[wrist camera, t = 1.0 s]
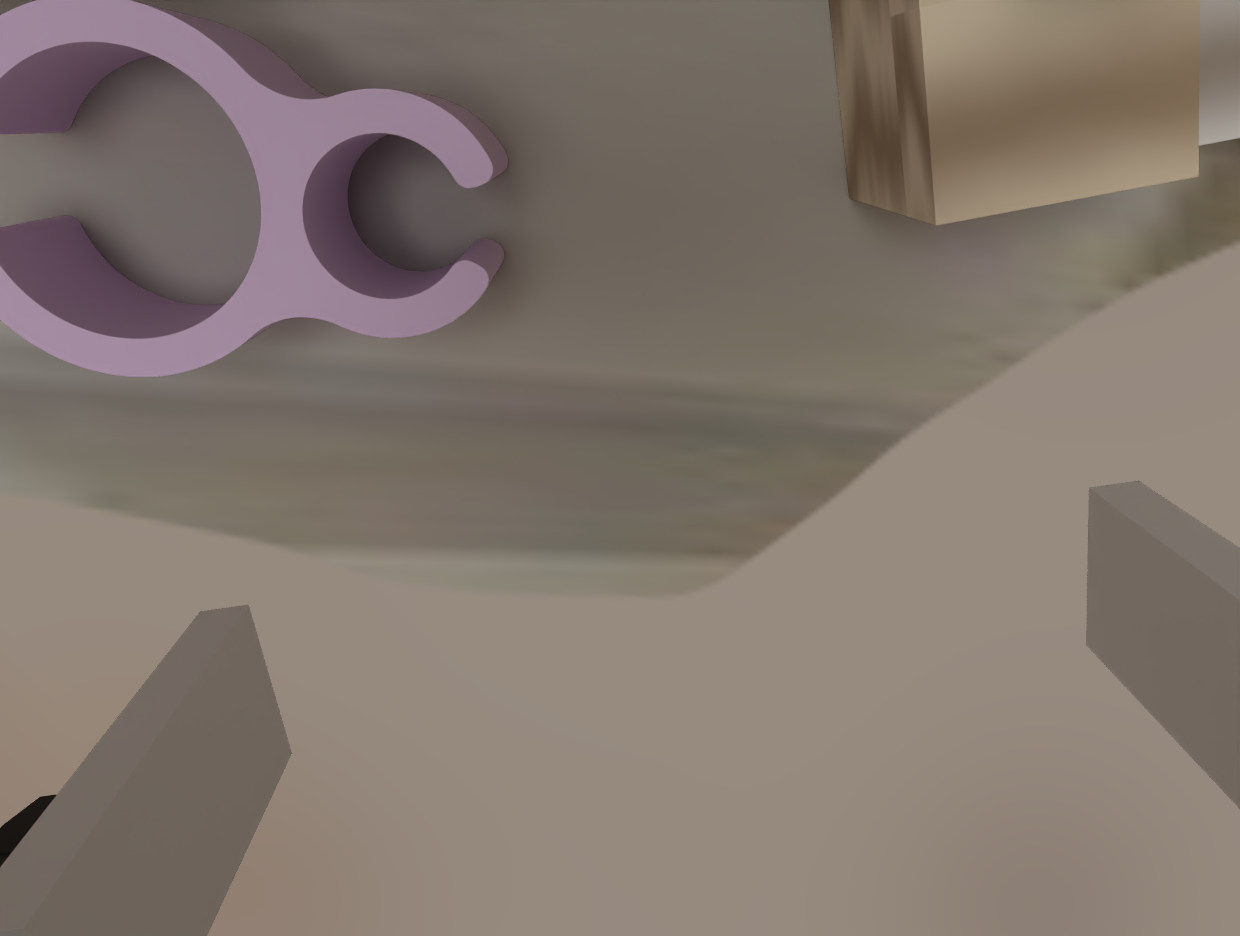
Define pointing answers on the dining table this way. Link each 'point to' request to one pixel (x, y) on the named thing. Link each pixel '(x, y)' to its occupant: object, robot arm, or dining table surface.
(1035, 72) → the socket block
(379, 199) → the dining table surface
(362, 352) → the dining table surface
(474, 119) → the clip
